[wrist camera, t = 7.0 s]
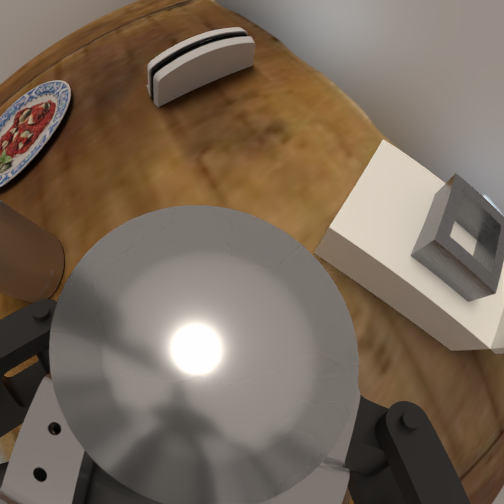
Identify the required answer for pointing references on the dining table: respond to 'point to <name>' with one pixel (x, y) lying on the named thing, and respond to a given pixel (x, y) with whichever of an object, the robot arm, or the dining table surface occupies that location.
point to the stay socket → (453, 254)
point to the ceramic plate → (30, 126)
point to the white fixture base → (408, 254)
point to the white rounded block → (198, 63)
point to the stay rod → (203, 357)
